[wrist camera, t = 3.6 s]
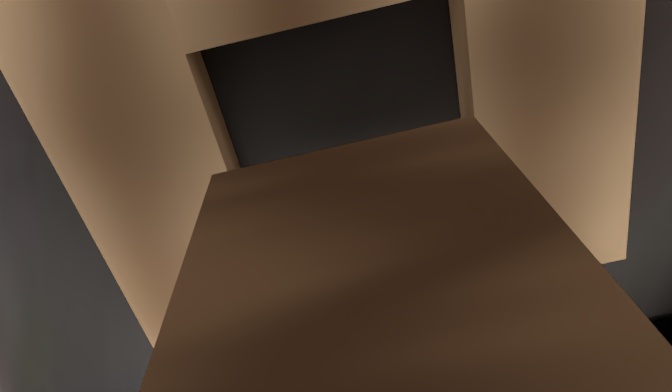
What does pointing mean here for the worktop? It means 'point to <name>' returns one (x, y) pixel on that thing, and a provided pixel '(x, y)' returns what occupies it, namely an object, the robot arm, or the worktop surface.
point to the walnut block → (397, 280)
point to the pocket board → (214, 140)
